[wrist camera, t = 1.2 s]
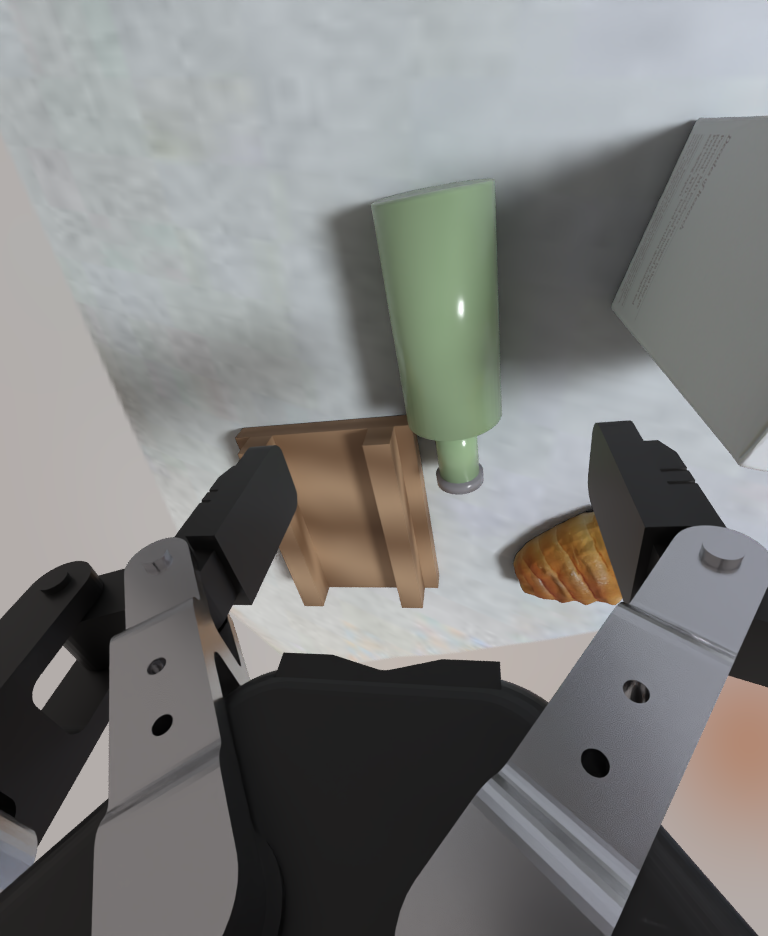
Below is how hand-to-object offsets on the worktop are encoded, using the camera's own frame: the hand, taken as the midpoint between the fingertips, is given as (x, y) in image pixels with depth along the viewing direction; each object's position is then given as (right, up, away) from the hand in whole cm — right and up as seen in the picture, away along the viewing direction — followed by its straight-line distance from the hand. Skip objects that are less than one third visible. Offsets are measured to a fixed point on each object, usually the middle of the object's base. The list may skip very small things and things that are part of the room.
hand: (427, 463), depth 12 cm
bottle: (+2, +6, +12) cm, 13 cm away
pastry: (+13, -5, +19) cm, 23 cm away
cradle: (-4, -3, +20) cm, 20 cm away
